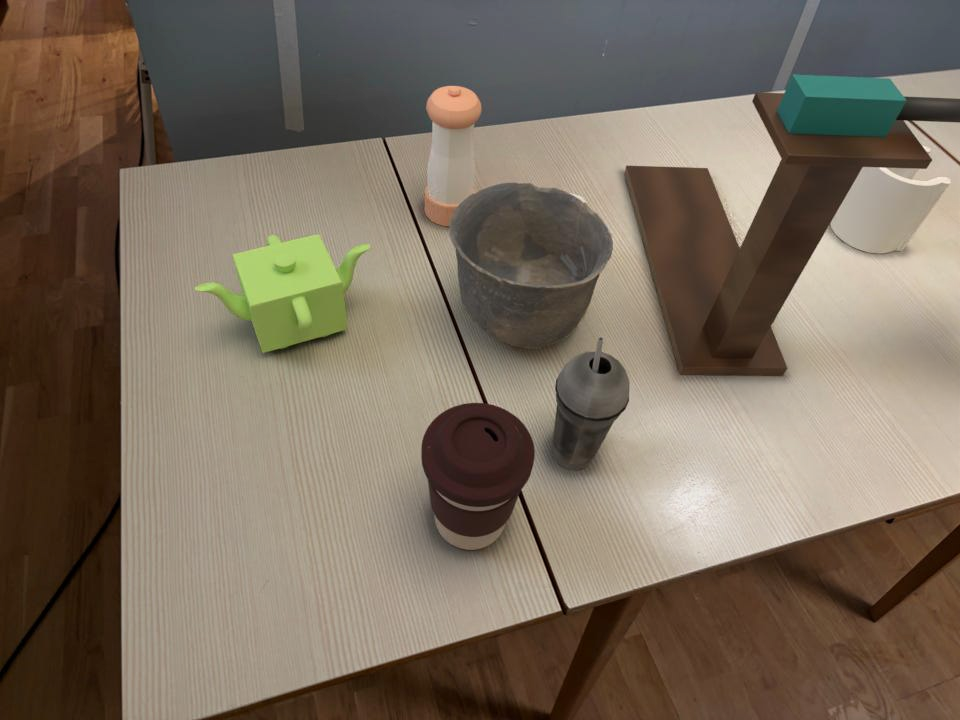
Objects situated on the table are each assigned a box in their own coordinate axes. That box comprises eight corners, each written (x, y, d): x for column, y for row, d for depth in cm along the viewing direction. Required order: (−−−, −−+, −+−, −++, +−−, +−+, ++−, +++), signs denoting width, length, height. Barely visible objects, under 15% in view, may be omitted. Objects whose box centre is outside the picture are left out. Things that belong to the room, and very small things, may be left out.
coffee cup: (423, 568, 69) (424, 493, 57) (419, 477, 75) (418, 393, 63) (524, 561, 70) (545, 486, 58) (512, 472, 76) (528, 389, 64)
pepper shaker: (450, 188, 106) (455, 66, 91) (485, 212, 103) (496, 90, 88) (414, 208, 102) (413, 85, 87) (448, 233, 99) (454, 110, 84)
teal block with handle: (1002, 119, 67) (1027, 84, 64) (1022, 142, 64) (1049, 106, 61) (776, 111, 65) (792, 74, 62) (788, 133, 63) (805, 96, 60)
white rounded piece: (796, 149, 118) (828, 82, 109) (853, 153, 119) (890, 86, 109) (841, 251, 103) (884, 182, 93) (907, 255, 103) (956, 187, 94)
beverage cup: (619, 459, 78) (668, 341, 62) (569, 493, 75) (609, 378, 59) (574, 414, 81) (611, 291, 66) (526, 445, 78) (552, 324, 63)
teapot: (375, 299, 90) (371, 236, 82) (332, 378, 82) (322, 316, 74) (265, 270, 92) (250, 205, 84) (213, 344, 84) (190, 280, 76)
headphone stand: (704, 175, 112) (785, -40, 87) (785, 382, 86) (933, 159, 61) (624, 173, 111) (682, -46, 86) (681, 381, 85) (788, 154, 60)
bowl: (466, 388, 82) (473, 299, 71) (431, 283, 93) (433, 190, 81) (606, 363, 86) (636, 274, 75) (558, 264, 97) (578, 173, 85)
